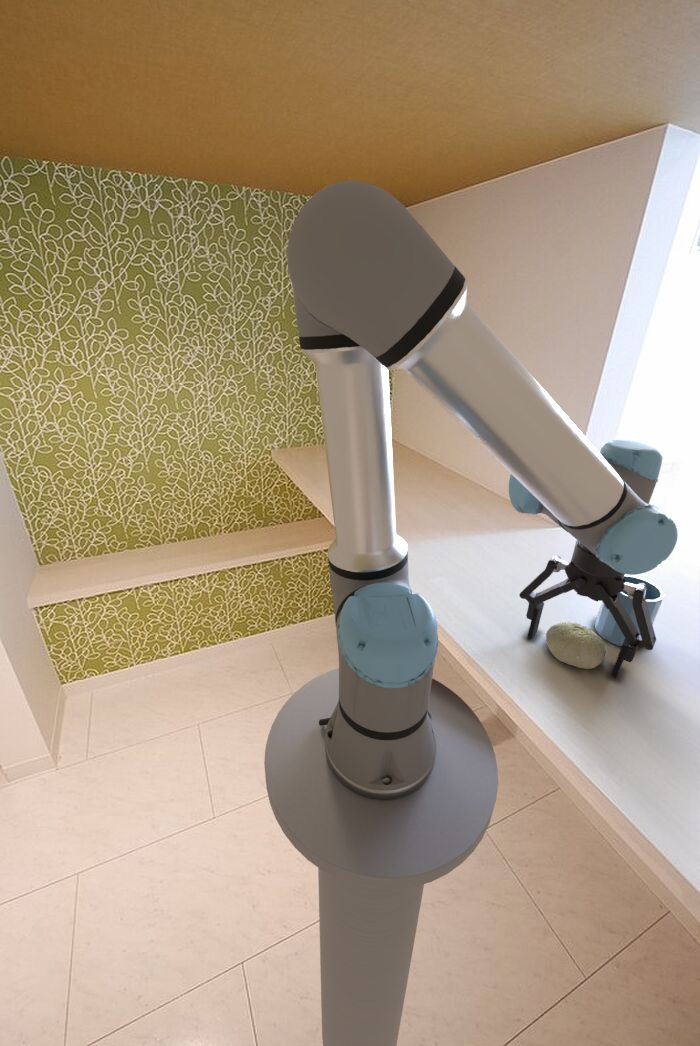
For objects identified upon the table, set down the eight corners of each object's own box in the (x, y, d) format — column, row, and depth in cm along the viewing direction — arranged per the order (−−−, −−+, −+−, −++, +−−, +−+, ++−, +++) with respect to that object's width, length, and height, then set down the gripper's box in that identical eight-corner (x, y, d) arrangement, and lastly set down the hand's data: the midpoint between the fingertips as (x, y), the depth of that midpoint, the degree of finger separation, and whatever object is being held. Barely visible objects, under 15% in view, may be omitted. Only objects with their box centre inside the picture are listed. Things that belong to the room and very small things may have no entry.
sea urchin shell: (576, 620, 80) (607, 614, 72) (590, 665, 77) (623, 664, 70) (532, 627, 78) (559, 621, 70) (544, 673, 75) (574, 672, 68)
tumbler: (589, 633, 80) (603, 587, 75) (601, 613, 85) (615, 569, 81) (640, 655, 75) (659, 607, 70) (649, 632, 80) (667, 587, 76)
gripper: (709, 564, 61) (660, 677, 70) (531, 513, 76) (510, 612, 85) (702, 586, 56) (651, 705, 65) (513, 527, 71) (493, 630, 80)
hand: (571, 652), depth 75 cm, fingers open, 13 cm apart
